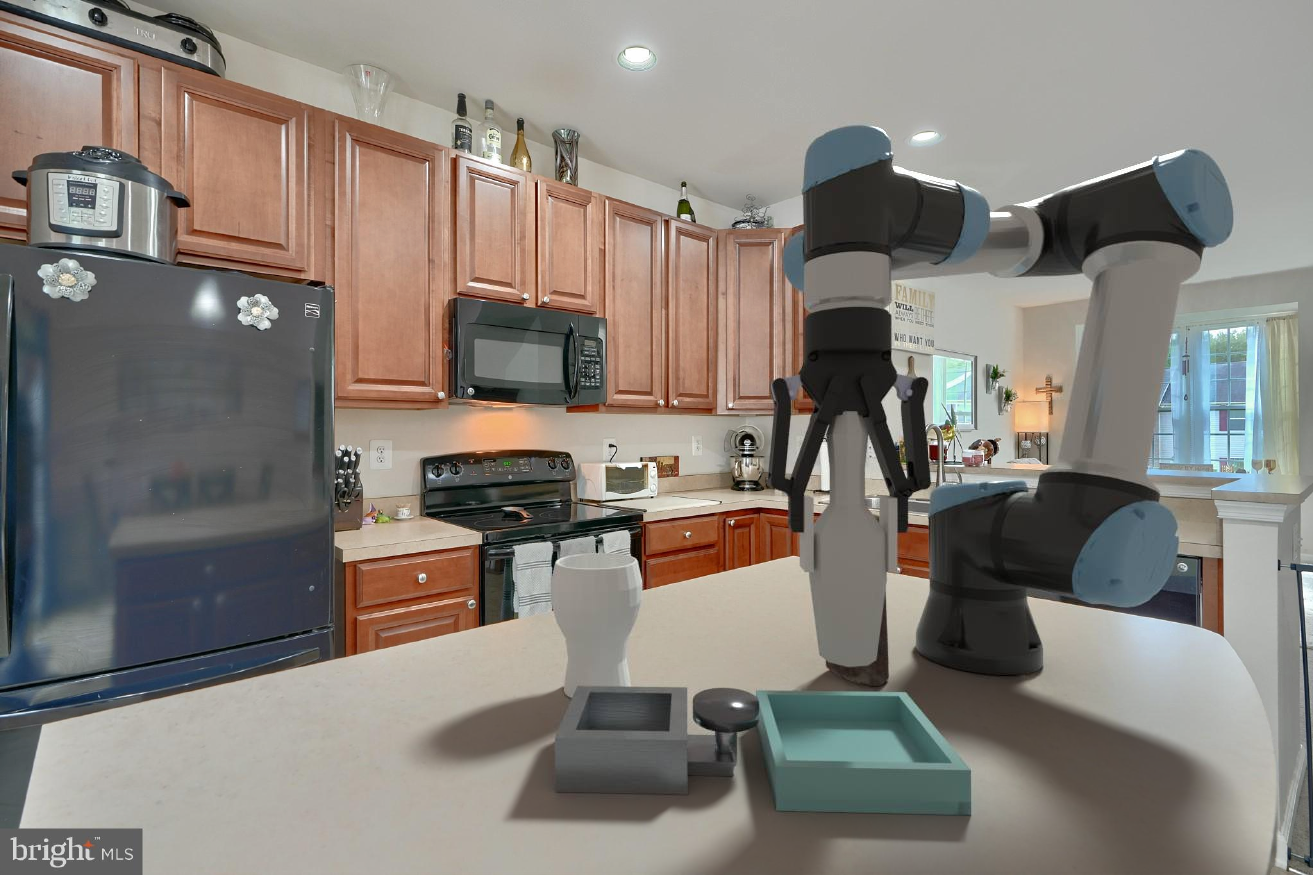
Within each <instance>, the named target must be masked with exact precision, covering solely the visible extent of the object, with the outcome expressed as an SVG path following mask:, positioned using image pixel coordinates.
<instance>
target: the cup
mask: <svg viewBox="0 0 1313 875" xmlns="http://www.w3.org/2000/svg"><path fill="white" fill-rule="evenodd" d="M552 572H553V573H552V576H551V582H550V603H551V607H552V611H553V614H554V618H555V621H556V623H557V626H558V628H559V630H560V632H561V633H562V635H563V636H564V639H565V644H566V653H567V663H566V669H565V676H564V684H563V692H564V694H565V695H566V696H567V697H568V698H570V699H572V697H573V695H574V693H575V690H576V688H577V686H622V687H632V686H631V679H630V677H631V676H630V673H629V672H630V671H629V666H628V660H627V652H628V645H629V636H630V634H631V632H632V630H633V628H634V626H635V623H636V621H637V619H638V616H639V612H640V608H641V604H642V601H643V579H642V574H641V571H640V566H639V561H638V560H637V558H636V557H633V556H632V555H627V554H622V553H607V552H606V553H605V552H601V553H600V552H598V553H597V552H595V553H580V554H573V555H567V556H564V557H561V558H558V559H557V560H556V561H555V563H554V567H553V571H552Z"/></svg>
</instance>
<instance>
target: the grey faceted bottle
mask: <svg viewBox="0 0 1313 875" xmlns="http://www.w3.org/2000/svg"><path fill="white" fill-rule="evenodd" d="M825 435H826V436H825V438H826V445H827V455H828V456H827V458H828V465H829V466H828V468H829V503H828V505H827V506H826V508H825V509H824V510H823V511H822V512H821V514H820V515H819V516H818V518H817V519H816V520H815V522H814V572H808V577H809V584H810V585H809V586H810V593H811V601H812V610H813V616H814V618H813V619H814V624H815V632H816V641H817V646H818V655H819V656H820V657H821V658H823V659H824V661H825V662H826V661H828V662H830V663H834V664H838V665H842V666H846V667H855V666H868V665H869V664H871V663H872V662H874V661H875V660H876V659H877V651H878V643H879V636H880V628H881V621H882V613H883V605H884V598H885V590H886V591H887V581H888V576H887V574H888V572H887V533H886V531H885V530H884V529H883V527H882V526H881V525H880V523H879V522H878V521H877V519H876V518H875V517H874V515H875V514H874V515H873V513H872V511H871V510H870V509H869V507H868V506H867V505H866V462H867V453H868V452H867V451H868V445H869V444H868V441H869V435H868V431H867V428H866V425H865V422H864V419H863V415H858V413H857V411H844V412H843V414H842V415H834V416H832V419H831V422H830V424H829V425H828V427H827V430H826V433H825Z"/></svg>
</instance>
